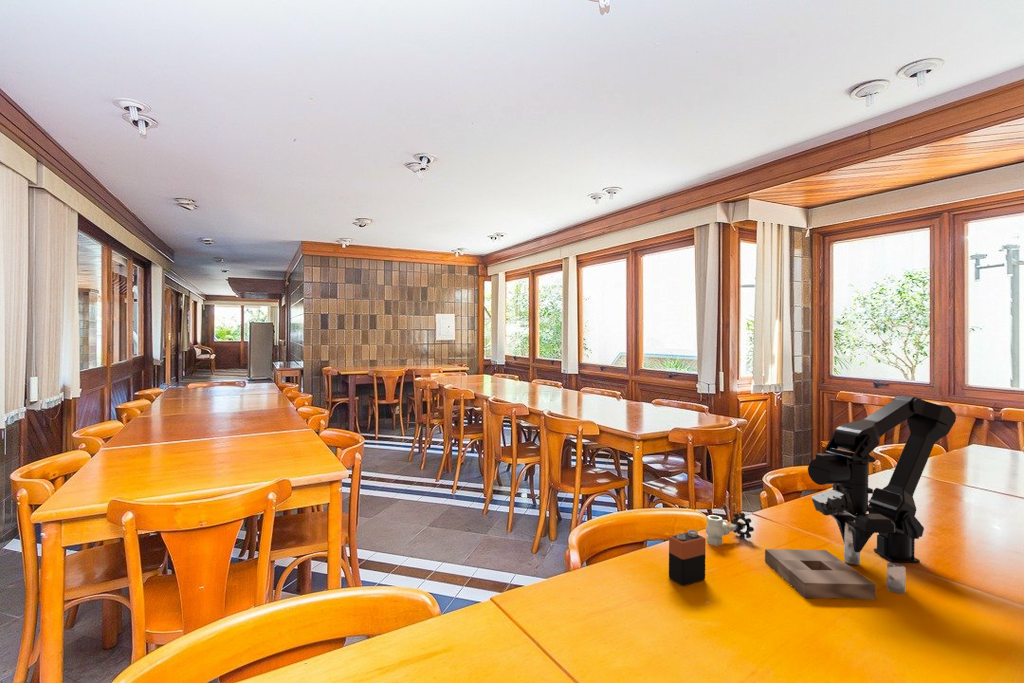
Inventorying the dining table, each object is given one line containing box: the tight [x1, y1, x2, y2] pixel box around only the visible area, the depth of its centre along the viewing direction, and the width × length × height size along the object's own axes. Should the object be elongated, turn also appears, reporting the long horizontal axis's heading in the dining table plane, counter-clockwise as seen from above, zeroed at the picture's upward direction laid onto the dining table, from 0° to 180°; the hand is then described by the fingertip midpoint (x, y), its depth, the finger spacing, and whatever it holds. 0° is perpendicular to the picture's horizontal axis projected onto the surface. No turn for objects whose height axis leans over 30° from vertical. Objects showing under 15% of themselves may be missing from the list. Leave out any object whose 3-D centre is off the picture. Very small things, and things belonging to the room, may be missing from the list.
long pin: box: [843, 521, 861, 566], centre depth 114 cm, size 3×3×9 cm
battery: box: [668, 529, 707, 587], centre depth 106 cm, size 4×7×10 cm, turn 117°
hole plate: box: [764, 548, 877, 600], centre depth 106 cm, size 14×16×3 cm
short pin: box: [886, 562, 906, 595], centre depth 102 cm, size 3×3×5 cm
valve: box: [705, 512, 755, 547], centre depth 126 cm, size 7×7×12 cm
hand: (852, 548), depth 114 cm, fingers closed on long pin, 3 cm apart
